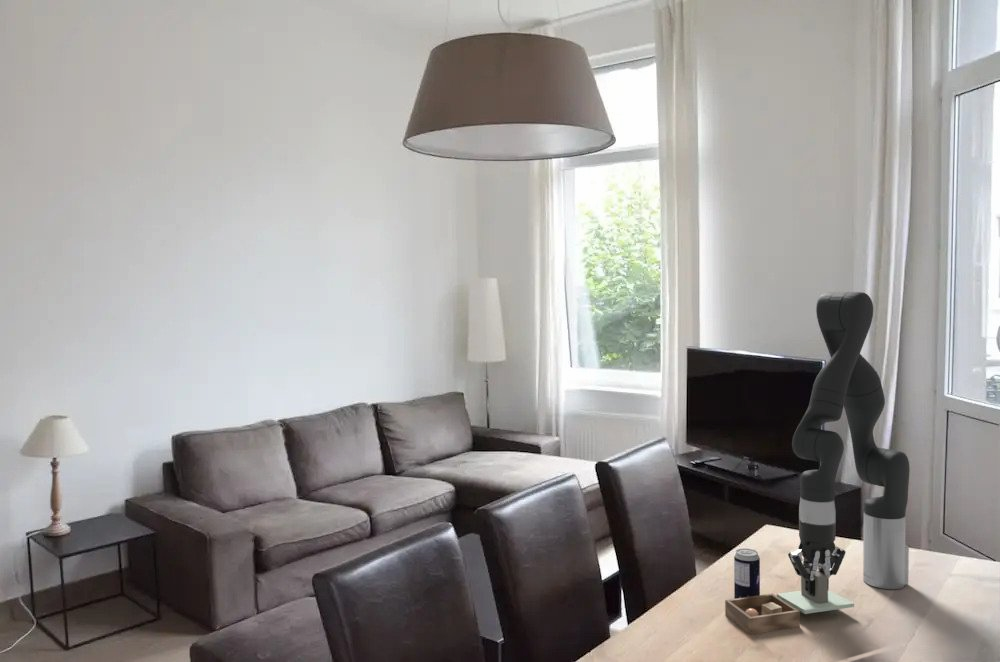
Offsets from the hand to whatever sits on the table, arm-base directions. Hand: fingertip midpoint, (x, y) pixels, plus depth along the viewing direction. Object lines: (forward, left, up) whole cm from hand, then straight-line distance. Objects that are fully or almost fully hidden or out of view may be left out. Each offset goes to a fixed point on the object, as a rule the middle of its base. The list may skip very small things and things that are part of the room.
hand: (816, 594), depth 175 cm
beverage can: (+11, -11, -5) cm, 16 cm away
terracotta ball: (+16, 0, -3) cm, 17 cm away
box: (+14, 0, -5) cm, 15 cm away
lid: (0, -1, -2) cm, 2 cm away
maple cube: (+11, 0, -4) cm, 12 cm away
